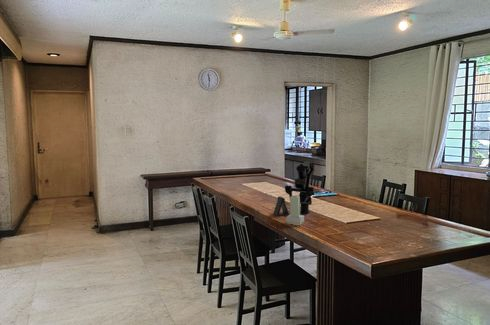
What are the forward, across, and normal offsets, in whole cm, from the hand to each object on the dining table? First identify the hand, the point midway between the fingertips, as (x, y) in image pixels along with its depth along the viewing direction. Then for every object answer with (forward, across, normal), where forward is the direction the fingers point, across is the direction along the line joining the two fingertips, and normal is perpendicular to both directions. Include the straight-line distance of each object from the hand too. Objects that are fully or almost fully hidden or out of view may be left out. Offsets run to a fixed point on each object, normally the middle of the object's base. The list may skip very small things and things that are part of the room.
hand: (297, 201), depth 247 cm
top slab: (+11, 0, +5) cm, 12 cm away
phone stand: (-1, -15, +20) cm, 25 cm away
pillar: (+10, 0, +3) cm, 10 cm away
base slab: (+13, 0, +6) cm, 14 cm away
